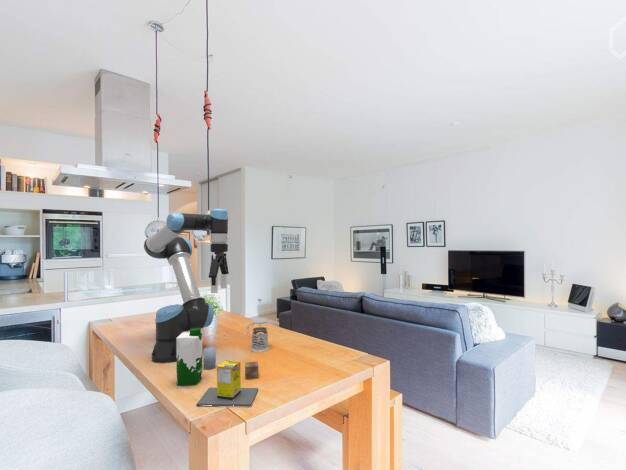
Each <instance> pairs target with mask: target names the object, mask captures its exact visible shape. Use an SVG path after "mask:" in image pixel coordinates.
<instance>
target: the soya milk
mask: <svg viewBox="0 0 626 470" xmlns="http://www.w3.org/2000/svg"><path fill="white" fill-rule="evenodd" d="M176 342H177V361H176V381H177V383H176V384H177V385H176V386H178V385H179V386H194V385H195V386H197V385H198V384H197V383H199V381H200V380H201V379H202V374H203V373H202V372H203V331H202V329H201V328H192V329H190V331H185V332H183V333H181V334H180V335H179V336H178V337H177V338H176ZM196 384H197V385H196Z"/></svg>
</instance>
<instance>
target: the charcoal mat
mask: <svg viewBox="0 0 626 470" xmlns="http://www.w3.org/2000/svg"><path fill="white" fill-rule="evenodd" d="M258 392H259V388H258V387H241V392H240V393H239V394H238V395H237V396H236V397H235V398H234V399H233V400H232V399H224V398H217V387H208V388H207V389H206V391H205V392H204V394H203V395H202V396H201V397H200V399H199V400H198V401H197V403H196V406H197V405H212V406H211V407H217V406H233V405H234V406H251V405H252V406H253V404H254V401H255V399H256V397H255V396H257V394H258ZM252 403H253V404H252ZM252 406H251V407H252Z"/></svg>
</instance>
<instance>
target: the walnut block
mask: <svg viewBox="0 0 626 470" xmlns="http://www.w3.org/2000/svg"><path fill="white" fill-rule="evenodd" d="M244 378H245V380H246V379H247V380H258V379H259V363H258V361H247V362H246V361H245V363H244ZM247 380H246V381H247Z"/></svg>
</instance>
